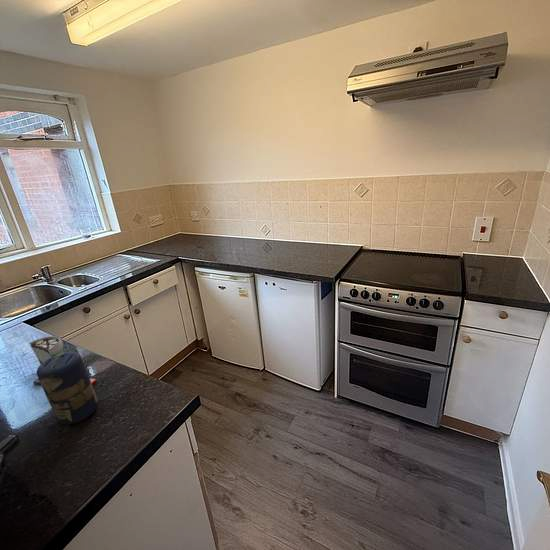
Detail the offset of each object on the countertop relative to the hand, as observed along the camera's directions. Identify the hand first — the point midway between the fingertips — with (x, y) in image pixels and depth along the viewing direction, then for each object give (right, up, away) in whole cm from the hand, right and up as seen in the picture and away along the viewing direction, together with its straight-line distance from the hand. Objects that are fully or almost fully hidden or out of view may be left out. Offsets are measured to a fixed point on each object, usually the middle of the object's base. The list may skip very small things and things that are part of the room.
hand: (15, 438), depth 64 cm
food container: (-18, +4, +37) cm, 42 cm away
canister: (+3, -2, +16) cm, 17 cm away
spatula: (-10, +1, +28) cm, 30 cm away
